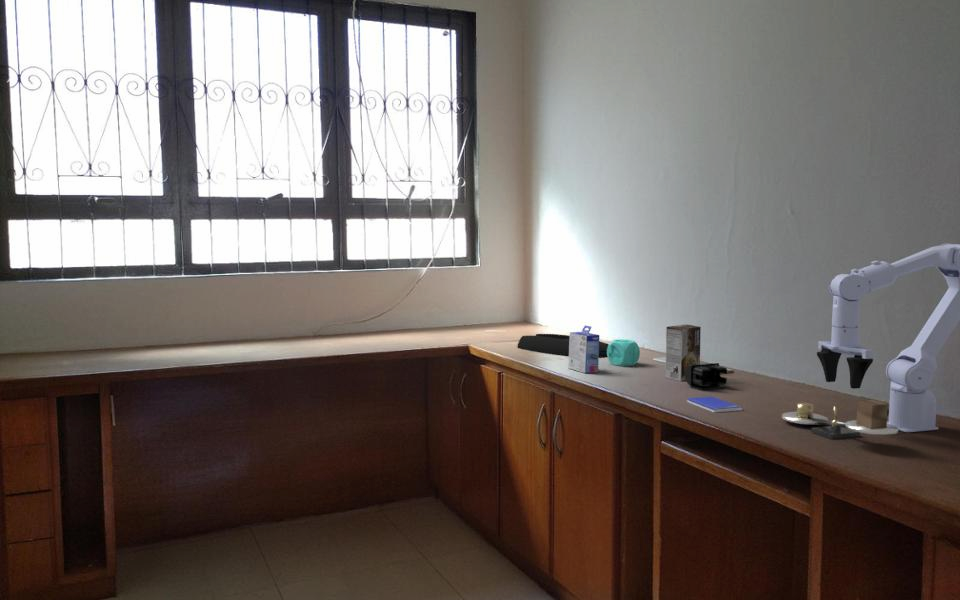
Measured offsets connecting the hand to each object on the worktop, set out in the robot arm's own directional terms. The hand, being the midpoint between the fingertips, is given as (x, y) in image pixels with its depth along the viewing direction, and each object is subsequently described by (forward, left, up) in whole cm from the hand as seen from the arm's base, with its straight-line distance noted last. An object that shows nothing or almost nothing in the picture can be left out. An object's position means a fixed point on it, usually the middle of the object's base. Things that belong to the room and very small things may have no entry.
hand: (842, 384), depth 176 cm
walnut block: (+6, +15, -6) cm, 17 cm away
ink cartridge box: (+27, -82, -10) cm, 87 cm away
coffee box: (+3, -62, -10) cm, 63 cm away
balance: (+6, +5, -10) cm, 13 cm away
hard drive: (+16, -27, -11) cm, 33 cm away
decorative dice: (+9, -89, -10) cm, 90 cm away
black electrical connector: (+4, -48, -10) cm, 49 cm away
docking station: (+15, -123, -11) cm, 124 cm away
